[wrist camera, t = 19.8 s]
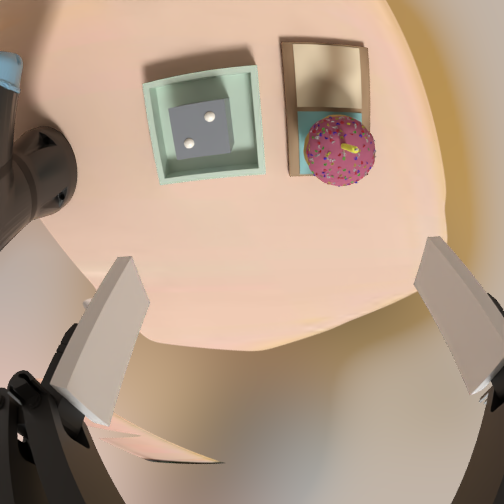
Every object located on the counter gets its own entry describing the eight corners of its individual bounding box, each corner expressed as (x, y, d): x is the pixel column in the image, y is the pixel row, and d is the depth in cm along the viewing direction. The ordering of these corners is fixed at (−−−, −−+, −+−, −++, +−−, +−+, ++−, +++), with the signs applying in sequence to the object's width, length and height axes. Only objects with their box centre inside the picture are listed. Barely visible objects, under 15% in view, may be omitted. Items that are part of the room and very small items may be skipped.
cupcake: (287, 125, 31) (303, 144, 21) (347, 101, 29) (389, 111, 19) (313, 183, 35) (337, 226, 25) (369, 160, 33) (412, 194, 23)
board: (289, 174, 36) (290, 177, 35) (280, 43, 26) (281, 41, 25) (365, 172, 35) (368, 175, 34) (364, 48, 25) (368, 47, 24)
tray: (166, 177, 36) (160, 185, 34) (151, 83, 29) (142, 84, 26) (264, 167, 35) (265, 174, 33) (256, 67, 28) (257, 65, 25)
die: (188, 148, 33) (176, 160, 28) (181, 104, 30) (167, 108, 25) (234, 142, 33) (230, 153, 28) (229, 97, 30) (223, 99, 25)
